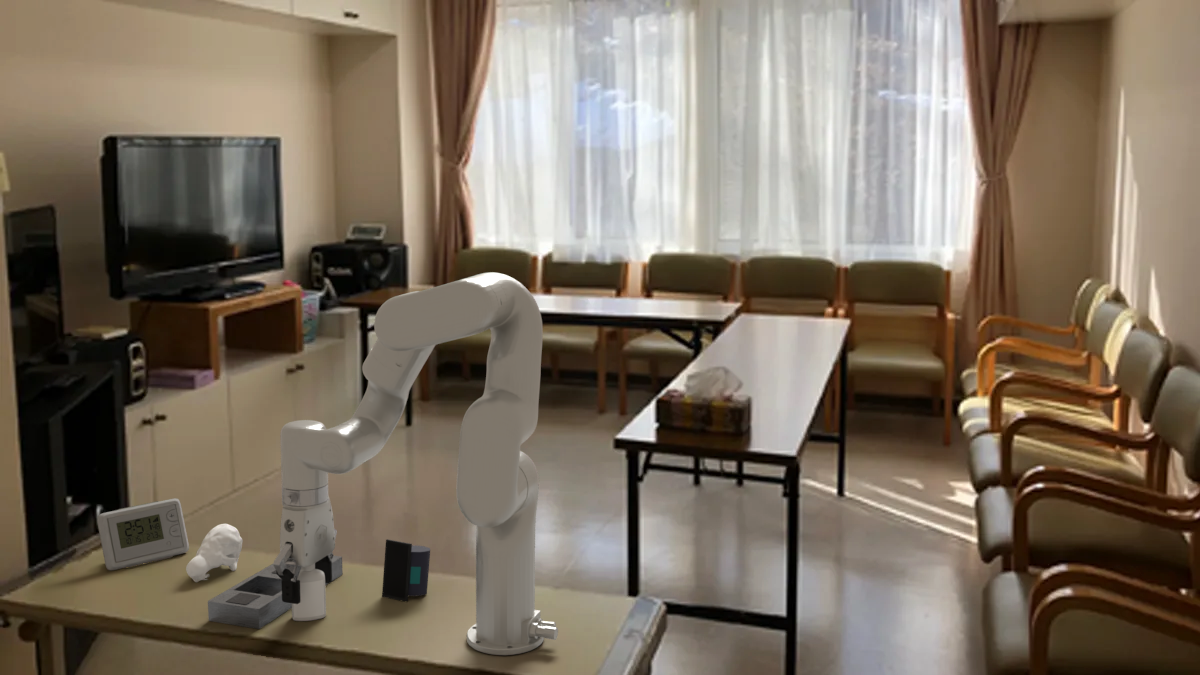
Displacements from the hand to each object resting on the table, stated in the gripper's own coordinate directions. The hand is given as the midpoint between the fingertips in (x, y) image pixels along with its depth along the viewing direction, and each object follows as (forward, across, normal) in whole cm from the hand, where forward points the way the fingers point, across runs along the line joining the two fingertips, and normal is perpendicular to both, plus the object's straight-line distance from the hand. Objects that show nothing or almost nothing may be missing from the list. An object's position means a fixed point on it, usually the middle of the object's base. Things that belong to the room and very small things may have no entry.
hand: (307, 591), depth 184 cm
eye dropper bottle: (+5, 0, 0) cm, 5 cm away
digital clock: (+5, +13, +45) cm, 47 cm away
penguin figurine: (+5, +11, +28) cm, 30 cm away
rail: (+5, +6, +10) cm, 12 cm away
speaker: (+5, +15, -11) cm, 19 cm away
